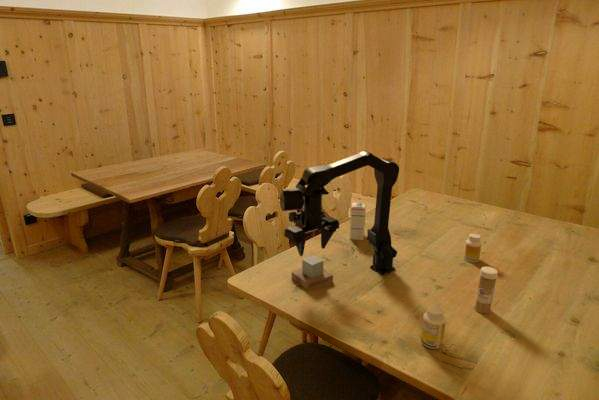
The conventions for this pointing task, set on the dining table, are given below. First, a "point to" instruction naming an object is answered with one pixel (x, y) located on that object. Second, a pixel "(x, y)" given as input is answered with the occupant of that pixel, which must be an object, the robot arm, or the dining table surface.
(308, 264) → the gray cube
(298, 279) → the walnut block
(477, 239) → the supplement bottle
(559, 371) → the dining table surface
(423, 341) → the supplement bottle
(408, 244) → the dining table surface
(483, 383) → the dining table surface
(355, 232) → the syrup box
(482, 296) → the sprinkles bottle
